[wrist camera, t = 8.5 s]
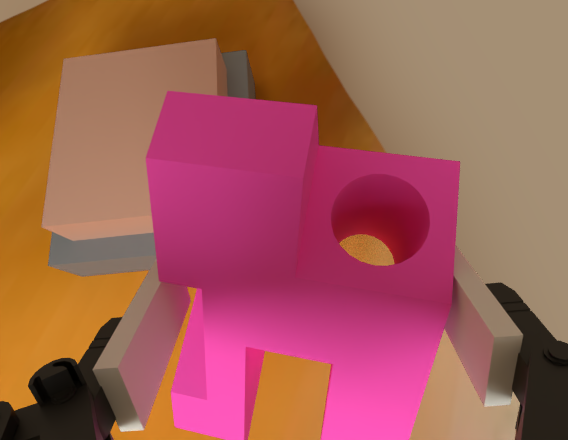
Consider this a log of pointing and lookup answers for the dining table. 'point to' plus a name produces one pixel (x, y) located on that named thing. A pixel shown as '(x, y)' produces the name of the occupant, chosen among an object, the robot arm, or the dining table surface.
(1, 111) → the dining table surface
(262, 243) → the bracket
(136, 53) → the two-tone base plate
